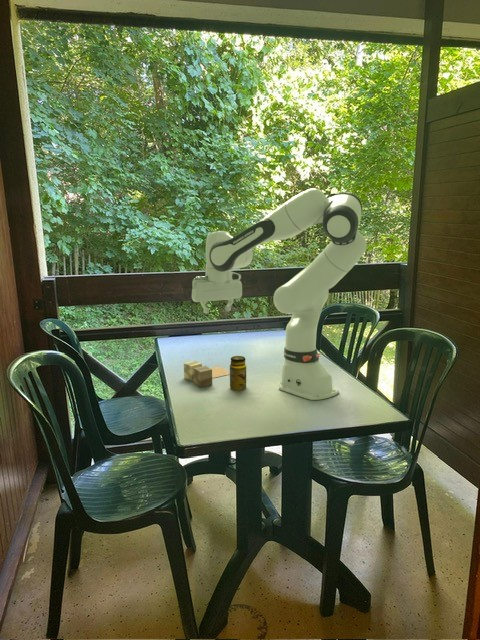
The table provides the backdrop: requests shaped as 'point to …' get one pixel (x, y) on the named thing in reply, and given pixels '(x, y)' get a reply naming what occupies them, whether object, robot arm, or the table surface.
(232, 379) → the condiment
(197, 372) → the walnut block
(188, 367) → the oak block
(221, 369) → the coaster
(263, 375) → the table surface
